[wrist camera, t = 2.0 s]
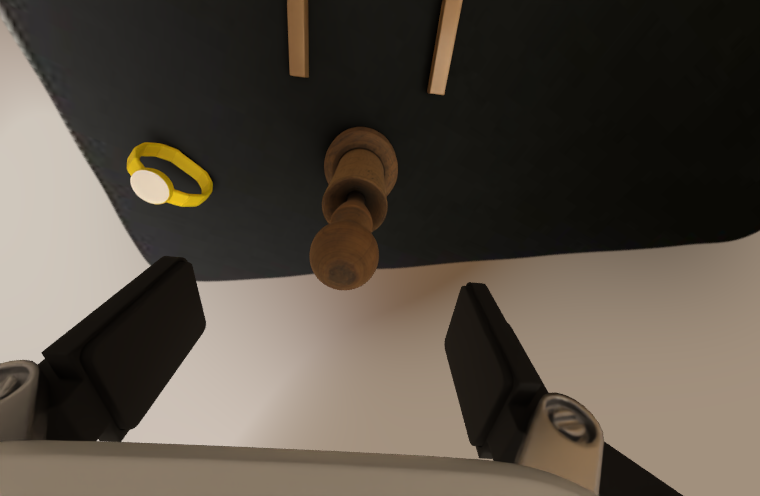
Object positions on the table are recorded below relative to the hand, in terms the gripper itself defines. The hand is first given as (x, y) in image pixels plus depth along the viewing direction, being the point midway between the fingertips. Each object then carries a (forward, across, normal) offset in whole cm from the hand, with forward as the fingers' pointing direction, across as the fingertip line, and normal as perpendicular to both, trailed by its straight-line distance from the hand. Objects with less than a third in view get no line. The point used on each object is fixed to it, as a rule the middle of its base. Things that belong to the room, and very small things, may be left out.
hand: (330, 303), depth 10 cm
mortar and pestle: (+20, 0, 0) cm, 20 cm away
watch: (+20, +16, +2) cm, 25 cm away
